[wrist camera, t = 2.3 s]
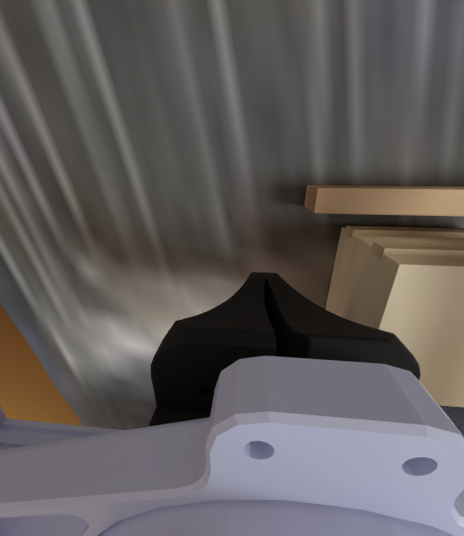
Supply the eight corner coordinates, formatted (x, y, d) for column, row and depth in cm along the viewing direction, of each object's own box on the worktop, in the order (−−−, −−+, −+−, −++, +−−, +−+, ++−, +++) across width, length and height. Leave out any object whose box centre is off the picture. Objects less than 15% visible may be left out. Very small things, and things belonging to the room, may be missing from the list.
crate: (472, 225, 11) (629, 264, 6) (427, 329, 13) (517, 411, 9) (340, 222, 11) (398, 256, 7) (320, 323, 14) (353, 398, 9)
